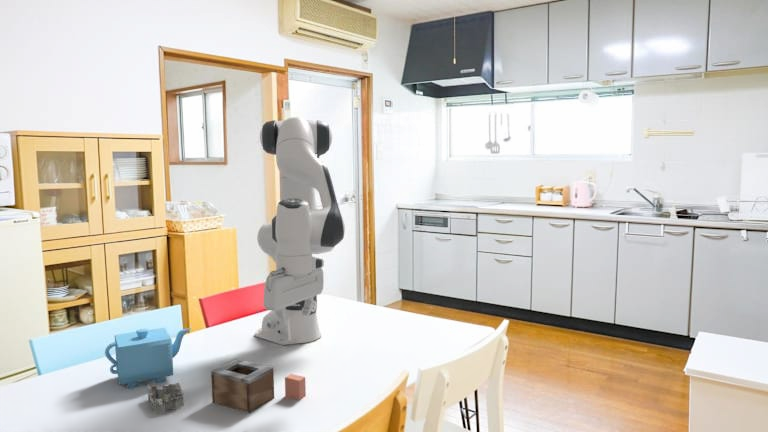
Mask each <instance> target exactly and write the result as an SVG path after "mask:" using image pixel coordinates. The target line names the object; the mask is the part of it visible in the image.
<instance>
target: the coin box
mask: <svg viewBox="0 0 768 432" xmlns="http://www.w3.org/2000/svg"><path fill="white" fill-rule="evenodd" d="M274 372H275V371H274V366H273V367H272V366H268V365H264V364H260V363H256V362H251V361H246V360H243V359H239V358H237V359H234V360H232V361H229V362H227V363H226V364H223V365H221V366H219V367H217V368H215V369H212V370H211V373H210V374H211V375H210V376H211V396H212V400H211V401H212V402H211V403H215V404H217V405H220V406H225V407H227V408H231V409H235V410H239V411H242V412H245V413H249V414H250V413H253V412H254V411H255V410H257V409H258V408H260V407H261V406H264V405H265V404H267V403H268V402H271V401H272V400H273V399H275V377H274V376H275V375H274Z"/></svg>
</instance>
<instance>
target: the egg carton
mask: <svg viewBox="0 0 768 432" xmlns="http://www.w3.org/2000/svg"><path fill="white" fill-rule="evenodd" d="M147 387H148V388H147V389H148V392H147V398H148V402H149V403H150V405H151V407H152V408H153V411H154V413H160V414H163V413H166V411H168V410H171V409H172V410H179V409H181V408H182V407H184V405H185V403H184V402H185V400H184V395H185V393H184V391H183V389H182V387H181V385H180V383H179V382H174V383H169V384H168V385H165V384H163V385H162V386H161V387H160V388H158V386H157V385H156V384H155V385H150V383H149V384H147ZM159 398H161V399H159ZM158 399H159V400H158ZM160 403H161V404H160Z"/></svg>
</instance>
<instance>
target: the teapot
mask: <svg viewBox="0 0 768 432" xmlns="http://www.w3.org/2000/svg"><path fill="white" fill-rule="evenodd" d="M191 329H192V327H189V328H188V327H187V328H183V329H181V330H179V331H178V332H177V334H176V337H175V338H174V339H175V340H174V341H173V340H172V337H171V336H170V334H169V331H167V328H166V327H159V328H154V329H153V328H152V329H149V328H140V329H137V330H136V331H133V332H127V333H121V334H114V341H113V342H110V343H109V344H108V345H107V347H106V348H105V350H104V354H105V357H106V359H107V360H108V361H110V363H111V366H110V367H109V371H110V373H111V374H113V375H117V378H118V382H119V383H118V384H119V386H125V385H127V386H126V387H127V388H128V389H133V388H134V387H135V388H137V387H139V383H140V382H144V381H145V382H146V381H148V380H149V381H150V380H153V382H154V383H157V384H160V383H164V382H165V381H166V378H165V377H170V376H174V361H173V359H174V358H175V357H176V356H177V355H178V353H179V351H180V348H181V344H182V342H183V341H182V340H183V338H184V336H185V334H186V333H188V332H189V331H191ZM114 347H115V348H114ZM112 348H114V349H115V359H114V357H112V355H111V354H110V350H111V349H112ZM114 368H116V369H114Z"/></svg>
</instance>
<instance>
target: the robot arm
mask: <svg viewBox="0 0 768 432" xmlns="http://www.w3.org/2000/svg"><path fill="white" fill-rule="evenodd" d="M259 133H260V134H259V141H260V145H261V147H262V150H263V151H264V152H265V153H266V154H270V155H274V156H275V161H276V167H277V169H278V170H279V197H280V198H279V200H280V201H279V202H278V203H277V206H276V213H275V216H274V217H273V218H272V219H271V221H270V222H266V223H264V224H262V225H261V226H260V228H259V229H258V232H257V236H256V237H257V244H258V246H259V248H260V249H261V251H262V252H263V253H264V254H266V255H268V256H269V257H270V258H271V259H272V261H274V263H275V270H271V271H270V272H269V274H268V275H267V277H266V279H265V283H264V289H263V307H264V308H265V310H267V311H269V312H268V313H266V314H265V315H264V317H263V318H262V322H261V327H260V328H258V329H257V330H255V332H254V337H257V338H260V339H263V340H266V341H269V342H271V343H275V344H278V345H281V346H285V345H287V346H288V345H291V344H305V343H310V342H313V341H317V340H318V339H320V337H321V336H322V334H321V331H320V327H319V321H318V315H317V309H318V306H317V305H318V295H321V294H322V292H323V291H324V271H323V267H324V264H325V263H324V262H325V260H324V259H323V258H319V257H315V256H313V255H319V254H326V253H329V252H331V251H333V249H334V248H335V247H336V246H337V245H338V244H340V242H342V240H343V239H344V238H345V237H344V236H345V234H346V233H345V232H346V229H345V228H346V227H345V222H344V221H345V220H344V218H343V215H342V213H341V210H340V207H339V204H338V201H337V196H336V193H335V192H336V191H335V187H334V185H333V181H332V177H331V175H330V171H329V168H328V166H327V165H326V163H324V162H323V161H321V160H320V156H323V155H325V154H326V153H327V152H328V151H329V150H330V147H331V145H332V141H333V134H332V131H331V128H330V125H329V124H328V123H327V122H326V121H322V120H318V119H317V120H311V119H310V120H309V119H304V118H301V117H298V116H294V117H289V118H287V119H284V120H275V119H274V120H269V121H266V122H265V123H264V124H263V125H262V127H261V130H260V132H259ZM315 190H316V191H317V192H318V194H319V198H320V204H321V207H322V208H320V209H319V207H318V205H317V203H316V202H317V201H316V193H315Z"/></svg>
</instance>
